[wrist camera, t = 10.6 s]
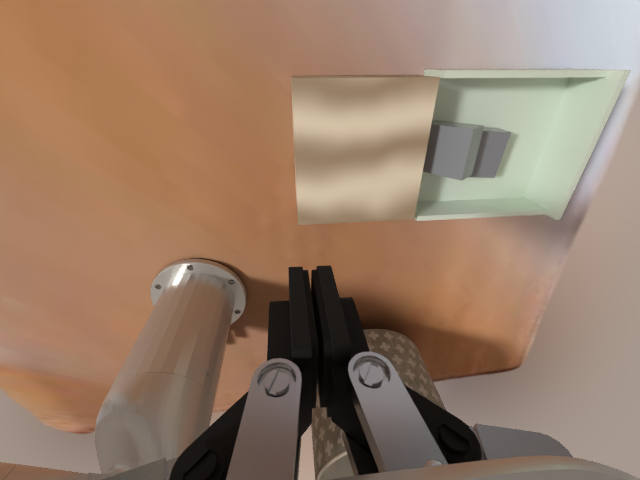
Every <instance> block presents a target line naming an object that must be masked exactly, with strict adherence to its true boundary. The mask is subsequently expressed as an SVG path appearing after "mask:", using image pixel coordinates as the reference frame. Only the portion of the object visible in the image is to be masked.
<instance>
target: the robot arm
mask: <svg viewBox="0 0 640 480" xmlns="http://www.w3.org/2000/svg"><path fill="white" fill-rule="evenodd" d="M150 294H151V300H152V303H153V305H154V308H153V310H152V312H151V314H150V315H149V317H148V319H147V321H146V323H145V325H144V327H143V329H142V330H141V332H140V334H139V336H138V338H137V340H136V342H135V343H134V345H133V347H132V349H131V351H130V353H129V355H128V357H127V358H126V360H125V362H124V364H123V366H122V368H121V370H120V371H119V373H118V375H117V377H116V379H115V381H114V383H113V385H112V387H111V389H110V390H109V392H108V394H107V396H106V398H105V400H104V402H103V404H102V406H101V408H100V411H99V414H98V417H97V421H96V429H95V443H96V450H97V456H98V461H99V465H100V470H101V474H94V473H89V474H84V473H78V472H70V471H63V470H55V469H48V468H41V467H34V466H26V465H19V464H9V463H1V462H0V480H298V472H299V461H300V447H301V436H302V435H303V433H304V432H305V431H306V430H307V428H308V427H309V426H310V425H311V423H312V409H313V408H316V395H317V384H318V393H319V401H320V407H321V408H324V407H326V411H327V417H331V421H332V422H333V423H335V424H336V425H337V426H338V427H340V428H341V435H342V439H343V442H344V445H345V448H346V451H347V455H348V458H349V461H350V464H351V467H352V471H353V474H354V476H351V477H343V478H335V479H327V480H640V479H639V478H637V477H634V476H632V475H630V474H628V473H625V472H623V471H620V470H618V469H615V468H612V467H609V466H606V465H603V464H600V463H597V462H593V461H588V460H584V459H580V458H573V457H572V455H571V454H570V452H569V451H568V450H567V449H566V448H565V447H564V446H563V445H562V444H560V442H558V441H557V440H555V439H553V438H552V437H550V436H548V435H545V434H541V433H537V432H530V431H524V430H517V429H509V428H502V427H496V426H489V425H482V424H475V426H474V427H472V426H468V425H466V424H465V423H464V422H463V421H461V420H460V419H458V418H457V417H455V416H454V415H452V414H450V413H449V412H447V411H446V410H444V409H443V408H441V407H439V406H438V405H436V404H435V403H433V402H431V401H430V400H428V399H427V398H425V397H423V396H422V395H420V394H419V393H417V392H415V391H414V390H412V389H411V388H409V387H408V386H406V385H404V384H403V383H402V381H401V379H400V377H399V375H398V374H397V372H396V370H395V368H394V366H393V365H392V364H391V362H390V361H389V360H388V359H386V358H385V357H384V356H382V355H380V354H378V353H374V352H370V350H369V347H368V344H367V341H366V338H365V334H364V331H363V328H362V325H361V322H360V319H359V316H358V313H357V310H356V306H355V303H354V301H353V298H352V297H350V298H339V294H338V291H337V287H336V283H335V279H334V275H333V272H332V268H331V266H317V270H312V277H311V289H310V282H309V275H308V270H303V268H302V267H289V301H272V302H270V306H269V328H268V351H267V361H266V362H264V363H263V364H261V365H260V366H259V367H258V368H257V369H256V371H255V372H254V375H253V377H252V380H251V384H250V388H249V391H248V392H247V393H246V394H245V395H244V396H243V397H241V398H240V399H239V400H238V401H237V402H236V403H235V404H234V405H233V406H232V407H231V408H230V409H228V410H227V411H226V412H225V413H224V414H223V415H222V416H221V417H220V418H219V419H218V420H217V421H216V422H214V423H213V424H212V425H211V426H210V427H209V425H210V421H211V416H212V411H213V406H214V401H215V397H216V392H217V387H218V382H219V377H220V372H221V368H222V363H223V358H224V353H225V348H226V343H227V339H228V334H229V329H230V325H231V324H232V323H234V322H235V321H236V320H238V318H239V317H240V316H241V315H242V313H243V311H244V309H245V306H246V300H247V293H246V289H245V286H244V284H243V282H242V281H241V279H240V278H239V277H238V276H237V275H236V274H235V273H234V272H233V271H232V270H230V269H229V268H227V267H226V266H224V265H221V264H219V263H217V262H213V261H210V260H204V259H185V260H180V261H177V262H174V263H171V264H169V265H168V266H166V267H164V268H163V269H162V270H161V271H160V272H159V273H158V275H157V276H156V278H155V279H154V281H153V283H152V285H151V291H150Z"/></svg>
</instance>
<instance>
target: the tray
mask: <svg viewBox="0 0 640 480" xmlns="http://www.w3.org/2000/svg"><path fill="white" fill-rule="evenodd" d="M630 71H631V70H595V69H425V70H424V76H433V77H440V80H439V86H438V91H437V97H436V102H435V107H434V113H433V118H432V121H435V120H440V121H449V122H458V123H467V124H476V125H484V127H494V128H500V129H503V130H506V131H510V132H511V135H510V137H509V140H508V143H507V145H506V148H505V151H504V154H503V156H502V159H501V162H500V164H499V167H498V170H497V172H496V175H495V178H478V177H467V178H465V179H464V180H462V181H460V180H456V179H452V178H448V177H444V176H439V175H435V174H431V173H427V172H423V173H422V178H421V183H420V189H419V194H418V200H417V205H416V211H415V216H414V218H415V220H416V221H425V220H445V219H465V218H485V217H505V216H526V215H547V216H549V217H551V218H552V219H554V220H560V219H561V217H562V215H563V213H564V211H565V209H566V207H567V204H568V202H569V200H570V198H571V196H572V194H573V192H574V190H575V188H576V185H577V183H578V181H579V179H580V177H581V175H582V173H583V171H584V168H585V166H586V164H587V162H588V160H589V158H590V156H591V154H592V152H593V149H594V147H595V145H596V143H597V141H598V139H599V137H600V135H601V133H602V130H603V128H604V126H605V124H606V122H607V120H608V118H609V116H610V113H611V111H612V109H613V107H614V105H615V103H616V101H617V99H618V97H619V94H620V92H621V90H622V88H623V86H624V84H625V82H626V80H627V77H628V75H629V73H630Z"/></svg>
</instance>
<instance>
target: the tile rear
mask: <svg viewBox="0 0 640 480" xmlns="http://www.w3.org/2000/svg"><path fill="white" fill-rule="evenodd" d="M510 135H511V132H510V131H506V130H503V129H500V128H494V127H484V129H483V133H482V137H481V141H480V145H479V149H478V153H477V156H476V160H475V164H474V168H473V172H472V175H471V176H469V177H478V178H495V175H496V172H497V170H498V167H499V164H500V162H501V159H502V156H503V154H504V151H505V148H506V145H507V143H508V140H509V137H510Z"/></svg>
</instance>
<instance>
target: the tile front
mask: <svg viewBox="0 0 640 480" xmlns="http://www.w3.org/2000/svg"><path fill="white" fill-rule="evenodd" d="M483 129H484V125H476V124H467V123H458V122H449V121H440V120H435V121H432V124H431V129H430V135H429V140H428V145H427V151H426V156H425V162H424V167H423V172H427V173H431V174H435V175H439V176H444V177H448V178H452V179H456V180H460V181H462V180H464V179H465V178H467V177H469V176H471V175H472V172H473V168H474V164H475V160H476V156H477V153H478V149H479V145H480V141H481V137H482V133H483Z"/></svg>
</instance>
